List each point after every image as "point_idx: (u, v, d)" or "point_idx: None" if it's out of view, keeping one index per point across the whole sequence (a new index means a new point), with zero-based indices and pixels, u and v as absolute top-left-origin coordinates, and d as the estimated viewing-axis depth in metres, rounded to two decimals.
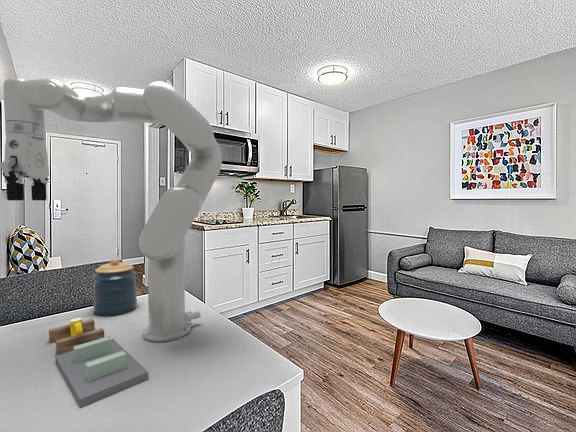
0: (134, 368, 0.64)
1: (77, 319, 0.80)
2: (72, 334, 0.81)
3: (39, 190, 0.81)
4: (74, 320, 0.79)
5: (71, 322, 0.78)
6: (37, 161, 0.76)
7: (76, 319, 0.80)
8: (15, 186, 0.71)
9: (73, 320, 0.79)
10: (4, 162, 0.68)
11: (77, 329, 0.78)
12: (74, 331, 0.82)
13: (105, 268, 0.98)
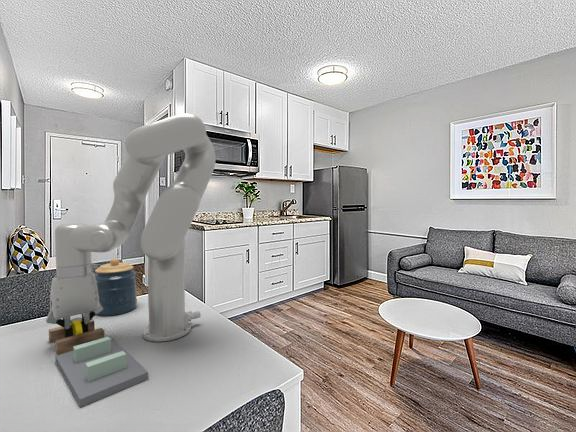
0: (134, 368, 0.64)
1: (77, 319, 0.80)
2: None
3: None
4: (74, 320, 0.79)
5: (71, 322, 0.78)
6: None
7: (76, 319, 0.80)
8: None
9: (73, 320, 0.79)
10: (101, 306, 0.84)
11: (77, 329, 0.78)
12: (74, 330, 0.82)
13: (105, 268, 0.98)
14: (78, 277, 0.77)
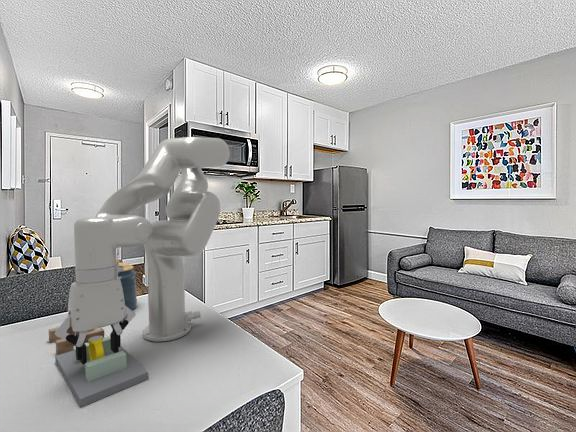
0: (134, 368, 0.64)
1: (97, 338, 0.66)
2: (91, 355, 0.67)
3: None
4: (93, 339, 0.65)
5: (90, 342, 0.64)
6: None
7: (96, 338, 0.66)
8: None
9: (92, 339, 0.65)
10: None
11: (97, 351, 0.64)
12: (93, 351, 0.68)
13: None
14: (102, 282, 0.63)
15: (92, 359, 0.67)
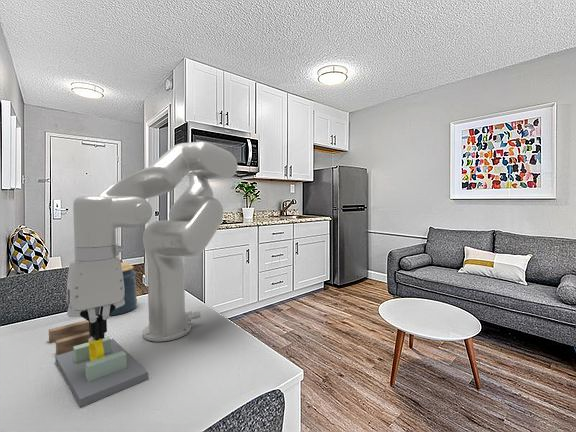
0: (134, 368, 0.64)
1: None
2: (91, 355, 0.67)
3: None
4: (94, 339, 0.65)
5: (90, 342, 0.64)
6: None
7: None
8: None
9: (92, 339, 0.65)
10: None
11: (98, 351, 0.64)
12: (93, 351, 0.68)
13: None
14: (101, 261, 0.62)
15: (92, 359, 0.67)
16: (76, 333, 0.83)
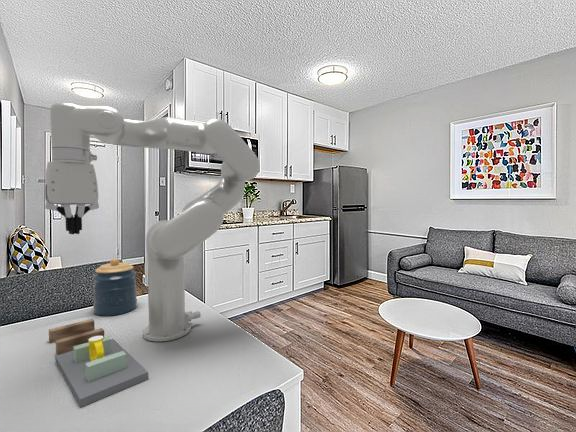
0: (134, 368, 0.64)
1: (97, 338, 0.66)
2: (91, 355, 0.67)
3: None
4: (94, 339, 0.65)
5: (90, 342, 0.64)
6: None
7: (96, 338, 0.66)
8: None
9: (93, 339, 0.65)
10: None
11: (98, 351, 0.64)
12: (93, 351, 0.68)
13: (105, 268, 0.98)
14: (75, 160, 0.70)
15: (92, 359, 0.67)
16: (76, 333, 0.83)
